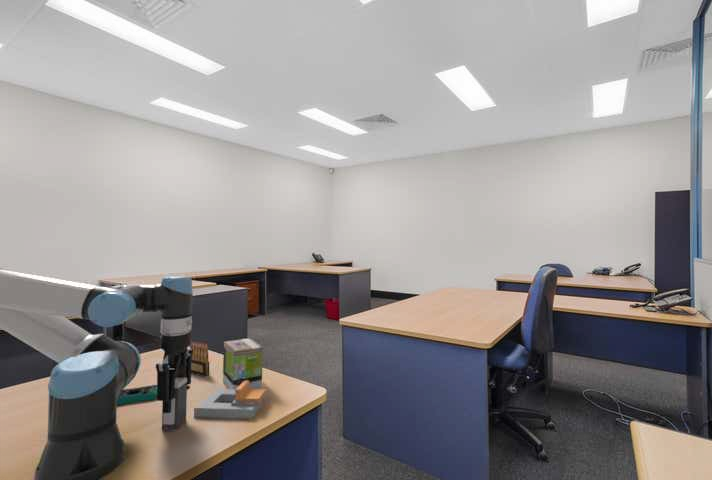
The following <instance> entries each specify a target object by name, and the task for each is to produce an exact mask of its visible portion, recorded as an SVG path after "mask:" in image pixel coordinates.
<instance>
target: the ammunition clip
mask: <svg viewBox="0 0 712 480" xmlns="http://www.w3.org/2000/svg"><path fill="white" fill-rule="evenodd" d="M208 346H209V345H208V344H207V343H204V342H203V343H201V342H198V341H192V340H191V345H190V346H189V347H188V349H193V354H192V366H191V374H193V373H194V375H197V374H198V375H197V376H201V375H202V376H201V377H205V376H206V377H208V376H210V361H209V347H208ZM207 375H208V376H207Z"/></svg>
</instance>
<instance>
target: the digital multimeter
mask: <svg viewBox="0 0 712 480" xmlns="http://www.w3.org/2000/svg"><path fill="white" fill-rule="evenodd" d="M153 400H157V384H152V385H147V386H146V385H145V386H140V387H134V388H127V389H126V388H124V389H123V390H122V391H121V392H120V393H119V394H118V396H117V406H122V405H129V404H135V403H140V402H147V401H153Z"/></svg>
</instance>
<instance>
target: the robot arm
mask: <svg viewBox="0 0 712 480" xmlns="http://www.w3.org/2000/svg"><path fill="white" fill-rule="evenodd" d="M193 291H194V290H193V279H192V278H191V276H186V275H178V276H177V275H176V276H175V275H174V276H172V275H171V276H164V277H162V278H161V282H160V283H158V284H157V283H156V284H127V283H126V284H121V285H119V284H118V285H113V286H111V287H106V286H99V285H94V284H86V283H81V282H76V281H70V280H63V279H59V278H53V277H52V278H51V277H45V276H41V275H33V274H28V273H23V272H16V271H11V270H5V269H4V268H3V267H1V266H0V329H1V330H3V331H5V332H7V333H8V334H10V335H11V336H13V337H15V338H16V339H18V340H20V341H21V342H23V343H25V344H26V345H28V346H29V347H31V348H33V349H34V350H36V351H38V352H39V353H40V354H43V355H44V356H46V357H48V358H49V359H51V360H53V361H54V362H56V363H58V364H57V365H55V366H54V367H53V368H52V369H51V373H50V377H49V380H48V381H49V383H48V385H47V391H48V409H47V412H48V413H47V439H46V444H45V446H44V447H43V451H42V453H41V456H40V458H39V462H38V464H37V465H36V468H35V470H34V474H33V475H34V477H33V478H34V479H33V480H96V479H97V480H98V479H101V478H102V477H104V476H105V475H106V476H107V474H109V473H111V472H112V471H113V470H115V469H116V468H118V466H119V465H120V464H121V463H122V462H123V460H124V459H125V455H126V454H125V453H126V445H125V442H124V439H123V438H122V435H121V432H120V429H119V427H118V426H119V425H118V424H117V411H118V405H117V396H118V394H119V393H120V392H121V391H122V390H124V389H126V387H127V386H128V385H129V384H130V383H131V382H132V381H133V380H134V379H135V377H136V376H137V374H138V371H139V369H140V368H141V359H142V358H141V354H140V352H139V350H138V349H137V347H136V346H135V345H134V344H132V343H130V342H128V341H123V340H119V341H117V340H114V339H112V338H110V336H107V335H106V334H104V333H97V334H92V333H90V332H88V331H87V330H85V329H84V328H82V327H81V326H79V325H78V324H76V323H74V322H73V321H71V320H70V319H68V318H75V319H82V320H87V321H88V320H89V321H91V322H92V323H93V324H95V325H96V326H100V327H104V328H109V327H114V326H115V327H116V326H119V325H122V324H123V323H125V322H127V321H128V320H130V319H131V318H132V317H135V316H136V315H138V314H144V313H158V312H159V313H160V331H159V333H161V335H160V336H159V337H160V341H159V342H160V344H159V345H160V347H159V348H160V349H161V350H163V351H164V353H163V357H162V361H161V362H157V363H156V365H155V370H156V373H157V375H156V376H157V377H156V385H157V399H156V400H157V401H158V402H162V403H163V424H172V425H173V424H174V423H175V398H173V394H174V387H175V380H176V377H178V378H187V391H188V390H189V389H190V388H191V386H190V385H191V383H192V373H191V366H192V354H193V349H189V348H190V345H191V341H192V335H193V334H192V332H191V331H192V324H193V320H192V315H193V296H194V295H193V293H194V292H193ZM67 317H68V318H67Z"/></svg>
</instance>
